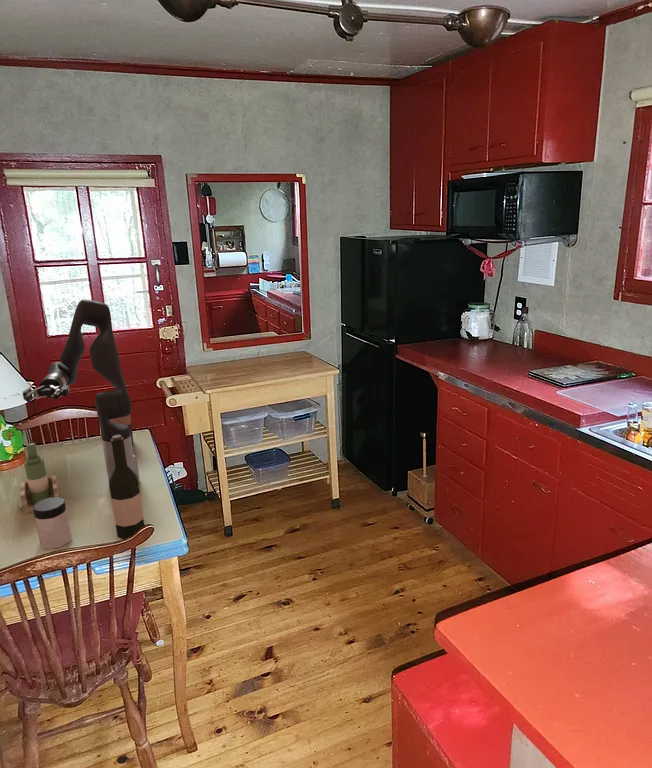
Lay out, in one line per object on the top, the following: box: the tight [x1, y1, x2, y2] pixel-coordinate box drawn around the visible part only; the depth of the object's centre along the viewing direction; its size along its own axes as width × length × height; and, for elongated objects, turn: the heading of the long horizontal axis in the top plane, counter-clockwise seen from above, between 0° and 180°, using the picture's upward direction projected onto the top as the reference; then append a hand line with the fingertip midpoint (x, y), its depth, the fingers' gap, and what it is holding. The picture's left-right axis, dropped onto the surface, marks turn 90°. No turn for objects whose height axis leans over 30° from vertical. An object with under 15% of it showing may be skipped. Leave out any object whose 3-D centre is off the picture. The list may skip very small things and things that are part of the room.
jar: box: [33, 496, 73, 550], centre depth 161 cm, size 9×8×12 cm
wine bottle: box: [108, 435, 145, 540], centre depth 162 cm, size 8×8×30 cm
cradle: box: [19, 475, 61, 516], centre depth 183 cm, size 10×10×7 cm
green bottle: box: [24, 442, 51, 505], centre depth 181 cm, size 6×6×20 cm
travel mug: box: [109, 414, 134, 444], centre depth 227 cm, size 8×8×20 cm
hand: (41, 398), depth 193 cm, fingers open, 8 cm apart
